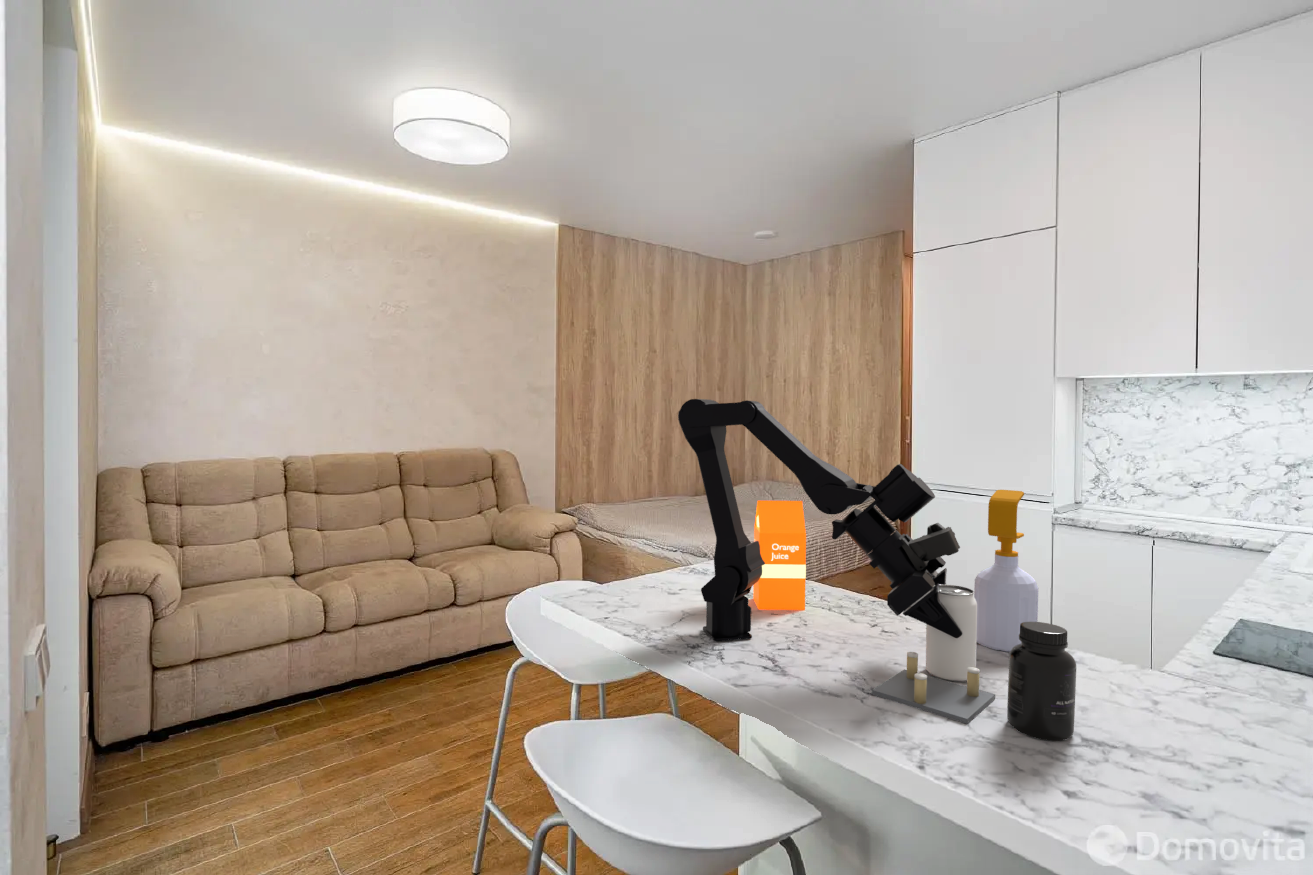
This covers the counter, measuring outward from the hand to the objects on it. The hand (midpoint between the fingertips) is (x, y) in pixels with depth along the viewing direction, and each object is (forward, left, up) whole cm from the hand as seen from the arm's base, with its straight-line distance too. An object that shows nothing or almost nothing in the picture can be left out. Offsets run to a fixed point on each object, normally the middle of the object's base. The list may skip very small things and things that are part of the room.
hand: (962, 628), depth 95 cm
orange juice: (-10, +39, -7) cm, 41 cm away
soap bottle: (+16, +10, -7) cm, 20 cm away
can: (-1, +1, -7) cm, 7 cm away
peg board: (-8, -5, -7) cm, 12 cm away
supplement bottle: (-2, -16, -7) cm, 18 cm away
